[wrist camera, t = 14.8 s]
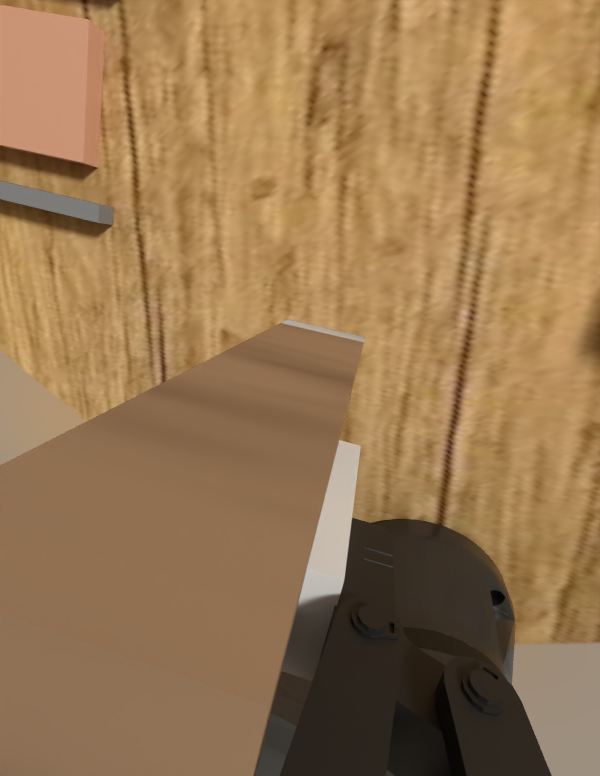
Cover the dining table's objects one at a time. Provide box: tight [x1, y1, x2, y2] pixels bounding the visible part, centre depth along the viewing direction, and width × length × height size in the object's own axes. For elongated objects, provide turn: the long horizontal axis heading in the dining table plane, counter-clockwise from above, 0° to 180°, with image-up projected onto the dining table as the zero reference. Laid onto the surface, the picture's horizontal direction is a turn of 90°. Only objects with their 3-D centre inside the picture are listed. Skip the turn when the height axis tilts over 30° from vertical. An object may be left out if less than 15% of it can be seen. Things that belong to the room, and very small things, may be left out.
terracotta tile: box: [0, 5, 105, 168], centre depth 28 cm, size 8×8×2 cm
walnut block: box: [0, 320, 365, 776], centre depth 10 cm, size 9×3×14 cm, turn 169°
